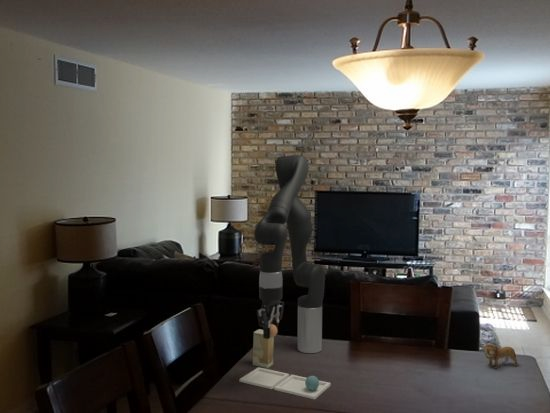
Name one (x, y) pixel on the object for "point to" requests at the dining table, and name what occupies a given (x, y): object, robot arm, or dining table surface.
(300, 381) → the tray
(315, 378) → the ball teal
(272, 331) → the ball terracotta
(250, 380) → the tray
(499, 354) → the lion figurine
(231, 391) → the dining table surface
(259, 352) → the skincare box
